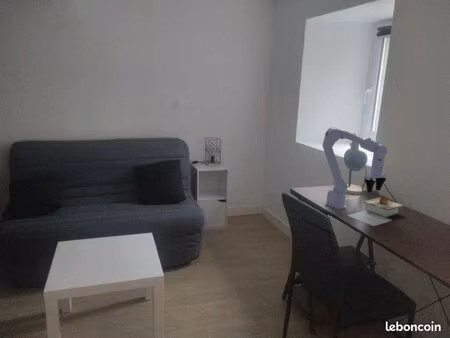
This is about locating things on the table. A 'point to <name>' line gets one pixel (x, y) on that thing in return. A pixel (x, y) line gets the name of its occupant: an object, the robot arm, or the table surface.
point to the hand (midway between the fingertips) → (373, 191)
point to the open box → (382, 211)
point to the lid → (383, 203)
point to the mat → (369, 218)
